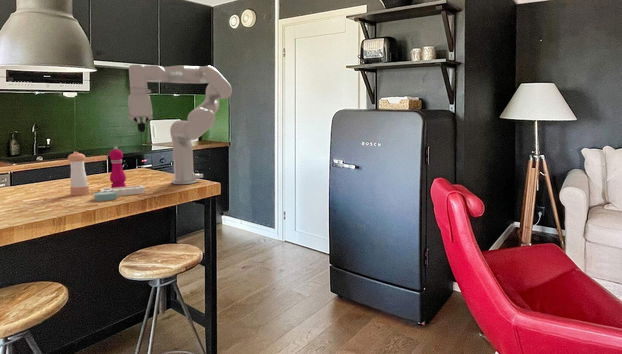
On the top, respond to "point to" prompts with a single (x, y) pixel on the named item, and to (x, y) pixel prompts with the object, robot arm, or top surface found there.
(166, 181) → the top surface
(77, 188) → the pepper shaker
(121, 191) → the ticket
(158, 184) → the top surface
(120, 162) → the pepper mill
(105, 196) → the stub
